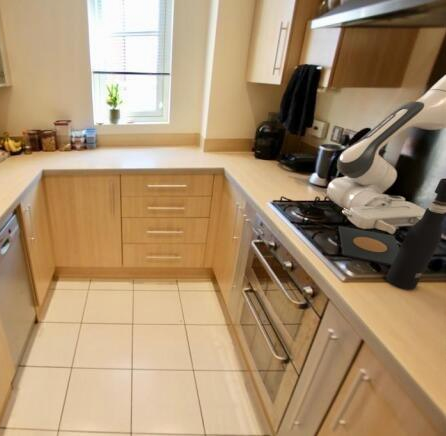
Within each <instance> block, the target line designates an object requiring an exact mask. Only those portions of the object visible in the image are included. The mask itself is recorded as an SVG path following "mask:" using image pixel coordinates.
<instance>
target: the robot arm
mask: <svg viewBox="0 0 446 436" xmlns="http://www.w3.org/2000/svg"><path fill="white" fill-rule="evenodd" d="M409 128H417V129H421V130H427V131H436V130H437V131H438V130H441V129H446V74H445V75H443V76H442V77H441V78H440V79H439V80H437V82H435V83H434V84H433V85H432V86H431V87H430V88H429V89H428V90H427V91H426V92H425V93H424V94H423V95H422V96H421V97H420V98H418V99H416V100H413V101H409V102H406V103H404V104H402V105H401V106H399V107H398V108H396V109H395V110H394V111H393V112H391V113H390V114H389V115H388V116H386V117H385V118H384V119H382V120H381V121H380V122H379V123H378V124H377V125H376V126H374V127H373V128H372V129H371V130H369V131H368V132H367V133H366V134H365V135H363V136H362V137H361V138H360V139H359V140H357V141H355V142H354V143H352V144H351V145H349V146H347V148H345V149H344V150H342V151H341V153H340V154H339V156H338V158H337V162H336V169H337V171H338V173H341V174H342V175H344V176H341V177H335V178H333V179H332V180H331V181H330V182H329V183H328V185H327V189H326V192H327V196H328V198H329V200H330V201H332V203H334V204H335V205H336V206H339V207H340V208H341V209H342V210H341V212H342V214H343V215H345V216H346V218H347V220H349V222H350V223H352V224H353V225H354V226H356V227H357V228H358V229H361V230H368V229H370V230H371V229H376V230H381V231H383V232H387V233H388V234H389V235H394V234H396V235H397V234H398V233H399V231H400V227H413V226H414V225H415V224H416V223H417V222H418V221H419V220H420V219H421V218H422V217H423V215H424V213H425V211H426V209H425V208H423V207H422V206H420V205H418V204H415V203H413V202H411V201H406V198H405V197H404V196H401V195H391V194H385V192H387V191H388V190H389V189H390V188H391V187H392V186H393V185H394V184H395V182H396V180H397V178H398V171H397V169H396V168H395V167H394V166H393V165H391V163H389V162H388V161H387V160H385V159H384V158H383V157H382V156H381V155H380V154H379V153H380V150H381V149H382V148H383V147H384V146H386V145H387V144H388V143H389V142H390V141H392V139H394V138H395V137H397V136H398V135H399V134H400V133H402V132H403V131H404V130H406V129H409Z"/></svg>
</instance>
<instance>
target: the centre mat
mask: <svg viewBox="0 0 446 436" xmlns="http://www.w3.org/2000/svg"><path fill="white" fill-rule="evenodd" d="M338 232H339V233H338V234H339V239H340V247H341V253H342V256H343V257H348V258H353V259H357V260H361V261H367V262H372V263H376V264H380V265H384V266H390V267H391V266H392V264H393V262H394V260H395V258H396V255H397V253H398V251H399V249H400V246H399V244H398V241H397V239H396V237H395V235H393V234H386V233H381V232H375V231H370V230H366V229H360V228H353V227H347V226H342V225H339V226H338Z"/></svg>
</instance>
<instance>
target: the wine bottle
mask: <svg viewBox="0 0 446 436" xmlns="http://www.w3.org/2000/svg"><path fill="white" fill-rule="evenodd" d="M434 194H436V196H435V198H434V200H433V201H432V202H431V203H429V205H428V207H427V208H426V209H425V210H426V211H425V213H424V215H423V217H422V218H421V219H420V220H419V221H418V222H417V223H416V224H415V225H413V226H411V228H410V229H409V230H408V232H407V233H406V235H405V236H404V239H403V241H402V243H401V245H400V246H399V248H400V249H399V251H398V253H397V255H396V258H395V260H394V262H393V264H392V266H390V268H389V270H388V272H387V274H386V277H385V280H386V281H387V282H388V283H389V284H391V286H393V287H396V288H398V289H402V290H406V291H412V290H415V289H416V287H417V286H418V284H419V282H420V281H421V279H422V277H423V275H424V273H425V271H426V269H427V267H428V266H429V264H430V262H431V260H432V259H433V256H434V254H435V253H436V251H437V249H438V247H439V245H440V244H441V241H442V236H443V235H442V234H443V222H444V220H445V218H446V178H441V179H439V182H438V183H437V185H436V188H435V190H434Z"/></svg>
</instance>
